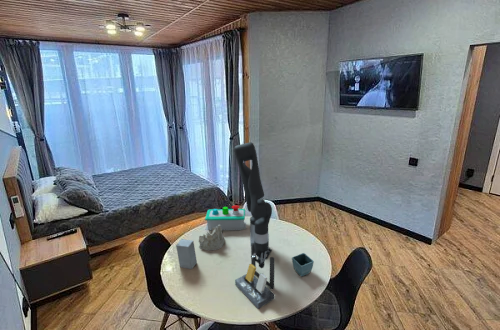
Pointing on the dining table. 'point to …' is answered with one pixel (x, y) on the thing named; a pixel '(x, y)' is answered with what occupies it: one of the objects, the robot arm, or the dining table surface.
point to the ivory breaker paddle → (261, 282)
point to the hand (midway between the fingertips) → (261, 267)
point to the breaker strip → (254, 291)
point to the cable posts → (270, 267)
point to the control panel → (226, 218)
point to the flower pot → (302, 264)
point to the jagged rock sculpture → (212, 239)
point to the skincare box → (186, 253)
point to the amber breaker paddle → (250, 272)
